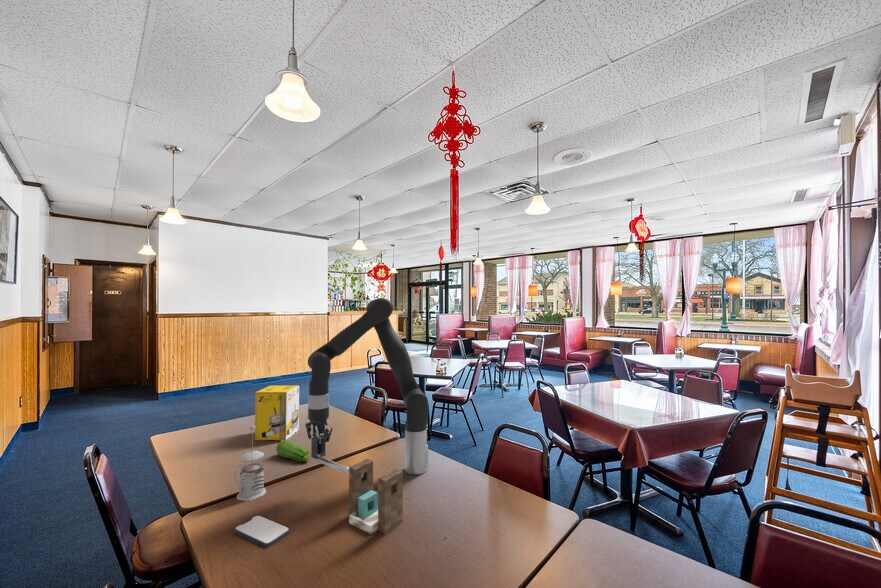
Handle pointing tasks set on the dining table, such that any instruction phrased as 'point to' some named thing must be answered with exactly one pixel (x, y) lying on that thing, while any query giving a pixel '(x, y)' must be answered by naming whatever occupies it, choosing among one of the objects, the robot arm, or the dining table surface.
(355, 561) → the dining table surface
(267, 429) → the packaging box
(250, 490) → the french press
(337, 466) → the shaft
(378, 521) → the bearing frame
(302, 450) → the vegetable
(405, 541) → the dining table surface
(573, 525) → the dining table surface
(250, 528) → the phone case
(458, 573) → the dining table surface
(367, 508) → the block
